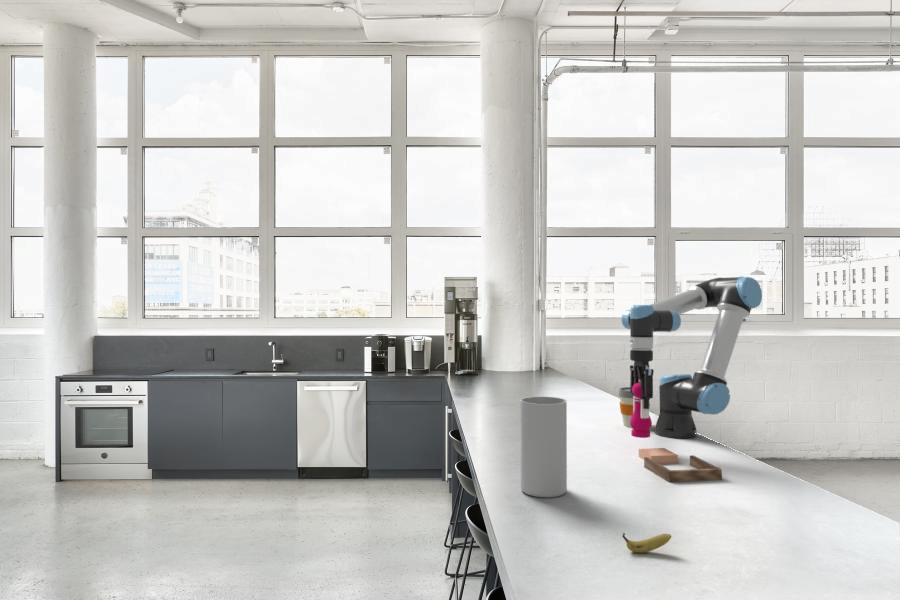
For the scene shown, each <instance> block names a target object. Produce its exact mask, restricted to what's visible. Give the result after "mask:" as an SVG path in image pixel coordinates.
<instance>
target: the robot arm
mask: <svg viewBox="0 0 900 600" xmlns="http://www.w3.org/2000/svg"><path fill="white" fill-rule="evenodd" d="M762 300H763V291H762V288H761V285H760V284H759V282H758V281H757V280H756V279H755V278H754V277H751V276H750V277H749V276H735V277H734V276H733V277H732V276H731V277H715V278H711V279H709V280H705V281H702V282H700V283H698V284H695V285H693V286H689V288H688V289H687V290H686V291H684V292H681V293H678V294H674V295H673V296H670V297H667V298H665V299H662V300H659V301H657V302H653V303H651V304H633V305H632V306H631V308H630V309H626V310H625V311H624V312H623V313H622V315H621V324H622V326H623V327H624V328H625V329H627V330H630V337H629V338H630V339H629V340H628V341H629V344H630V348H631V349H630V351H629V359H630V361H633V364H632V365H630V366H629V369H630V371H629V372H630V375H629V376H630V383H629V385H630V386H629V387H630V393H632V387H633V385H634V384H636V383H639V381H638V380H639V379H640V382H641V391H642V397H641V398H640V399H641V418H649V416H650V408H649V403H650V400H651V399H653V398H654V389H653V388H654V371H655V370H654V369H653V368H652V369H651V368H650V363H649V362H652V361H653V360H654V351H653V349H654V332H656V333H658V332H659V333H661V332H662V333H663V332H665V333H666V332H667V333H670V332H675V331H677V330H679V329H680V328H681V323H682V321H681V320H682V319H681V316H680V315H683V314H686V313H687V312H690V311H693V310H703V309H706V308H717V310H718V315H717V317H716V318H717V319H716V322H715V324H714V327H713V330H712V333H711V336H710V338H709V342H708V344H707V348H706V352H705V355H704V357H703V360H702V364H701V365H700V368H699V369H698V370H696V371H694V373H693V376H692V375H691V374H689V373H688V374H685V373H683V374H681V373H680V374H669V375H668V374H665V375H661V377H660V379H659V385H658V386H659V387H658V388H659V391H658V392H659V415H658V418H657V421H656V423H655V426H654V433H655V435H658V436H662V437H666V438H672V439H674V438H675V439H692V438H695V437H697V434H698V433H697V427H696V424H695V420H694V418H693V415H692V414H693V413H692V412H696V413H701V414H704V415H719V414H720V413H722V412H724V411H725V410H726V408H727V407H728V405H729V402H730V400H731V394H730V392H731V391H730V389H729V387H728V386H727V385H728V381H727V380H726V378H725V376H726V373H727V370H728V367H729V365H730V361H731V358H732V355H733V352H734V349H735V346H736V342H737V340H738V339H737V338H738V336H739V332H740V329H741V326H742V323H743V321H744V319H745V318H747V317H749V316H750V313H751V311H752V309H756V308H758V307H759V306H760V305H761V303H762ZM632 395H633V412H634V409H635V401H634V396H635V395H634V394H633V393H632ZM695 433H696V434H695Z"/></svg>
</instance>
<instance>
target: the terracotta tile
mask: <svg viewBox="0 0 900 600" xmlns="http://www.w3.org/2000/svg"><path fill="white" fill-rule="evenodd" d="M638 457H639V458H640V459H642V460H643V461H644V457H648V458H650V459H652V460H653V461H655V462H657V463H659V464H660V465H664V464H678V463H679V454H676V453H675V452H672V451H671V450H670V449H667V448H665V447H658V448H657V447H656V448H638Z"/></svg>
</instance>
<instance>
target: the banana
mask: <svg viewBox="0 0 900 600" xmlns="http://www.w3.org/2000/svg"><path fill="white" fill-rule="evenodd" d="M625 535H626V533H624V532H623V533H622V536H621V537H622V538H623V540H624V541H625V542H626V543H625V544H626V547H627V549H628V550H629V551H630V552H633V553H640V554H641V553H648V552H652V551H654V550H657V549H659V548H661V547H663V546H665V545H666V544H668V543H669V542H670V540H671V538H672V535H671V533H670V534H669V533H662V534H657V535H656V536H652V537H650V538H647V539H643V540H629V539H628V538H627V537H626V536H625Z"/></svg>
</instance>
